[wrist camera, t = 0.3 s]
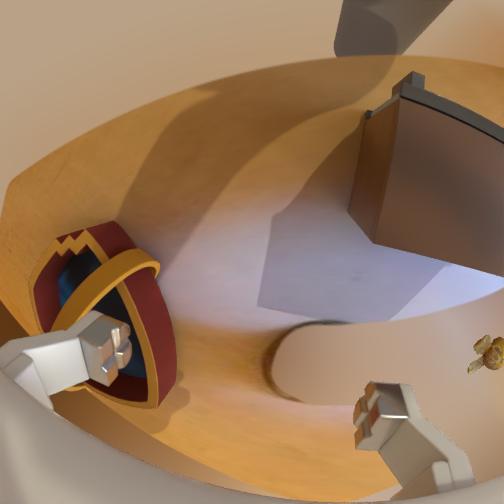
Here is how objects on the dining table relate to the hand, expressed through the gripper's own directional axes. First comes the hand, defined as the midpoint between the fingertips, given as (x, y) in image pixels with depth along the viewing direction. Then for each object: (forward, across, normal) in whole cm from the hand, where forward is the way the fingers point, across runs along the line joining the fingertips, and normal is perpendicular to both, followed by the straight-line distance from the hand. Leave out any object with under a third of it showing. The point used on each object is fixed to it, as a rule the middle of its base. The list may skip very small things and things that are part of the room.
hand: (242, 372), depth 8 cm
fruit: (+26, -38, +14) cm, 48 cm away
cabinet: (+26, -19, -8) cm, 33 cm away
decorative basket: (+26, +25, +22) cm, 42 cm away
